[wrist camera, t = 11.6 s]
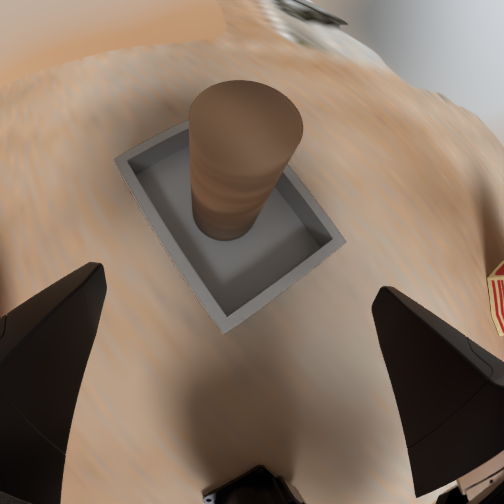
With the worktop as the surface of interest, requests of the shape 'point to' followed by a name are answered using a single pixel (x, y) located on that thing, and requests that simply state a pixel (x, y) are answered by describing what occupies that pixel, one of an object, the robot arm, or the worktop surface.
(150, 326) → the worktop surface
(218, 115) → the walnut cylinder
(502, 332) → the milk carton
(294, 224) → the box
